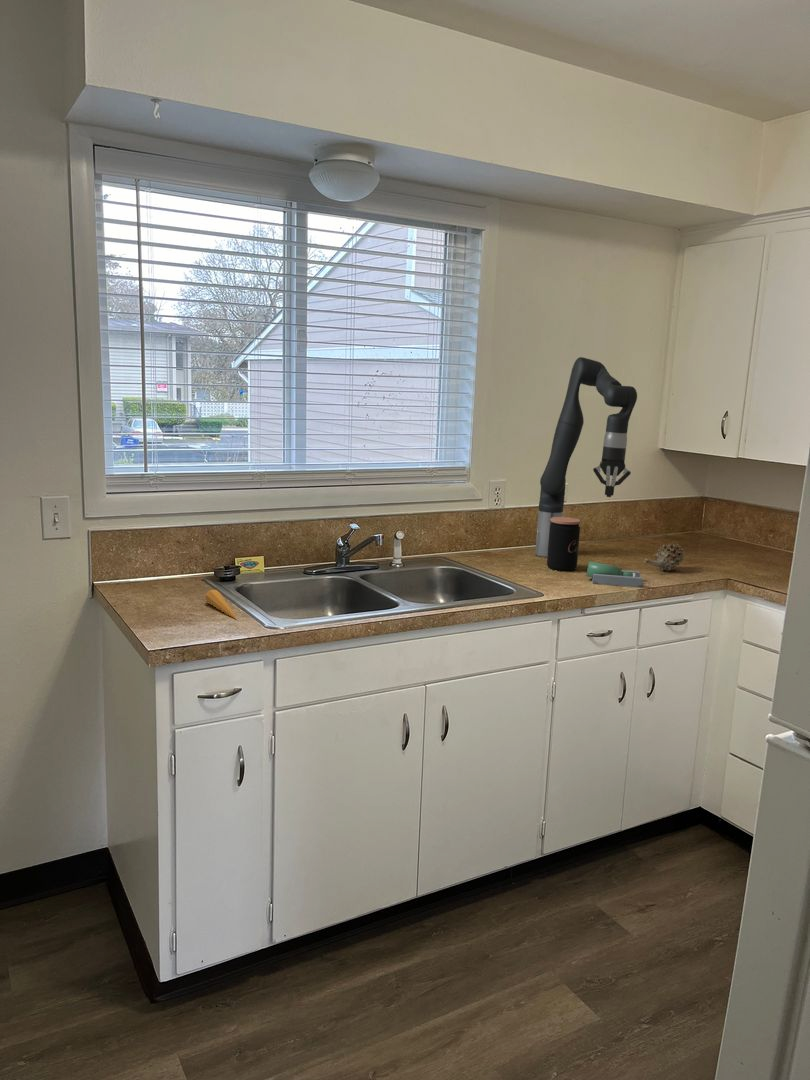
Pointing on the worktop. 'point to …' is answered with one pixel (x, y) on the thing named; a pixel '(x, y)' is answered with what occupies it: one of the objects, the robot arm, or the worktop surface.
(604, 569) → the bottle
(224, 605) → the carrot
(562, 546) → the coffee jar
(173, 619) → the worktop surface
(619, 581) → the cradle
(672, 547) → the pine cone
